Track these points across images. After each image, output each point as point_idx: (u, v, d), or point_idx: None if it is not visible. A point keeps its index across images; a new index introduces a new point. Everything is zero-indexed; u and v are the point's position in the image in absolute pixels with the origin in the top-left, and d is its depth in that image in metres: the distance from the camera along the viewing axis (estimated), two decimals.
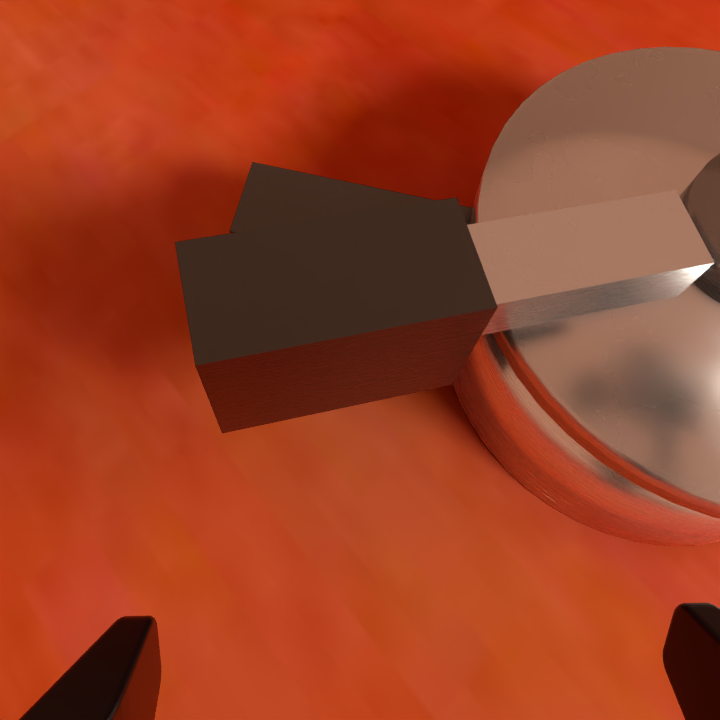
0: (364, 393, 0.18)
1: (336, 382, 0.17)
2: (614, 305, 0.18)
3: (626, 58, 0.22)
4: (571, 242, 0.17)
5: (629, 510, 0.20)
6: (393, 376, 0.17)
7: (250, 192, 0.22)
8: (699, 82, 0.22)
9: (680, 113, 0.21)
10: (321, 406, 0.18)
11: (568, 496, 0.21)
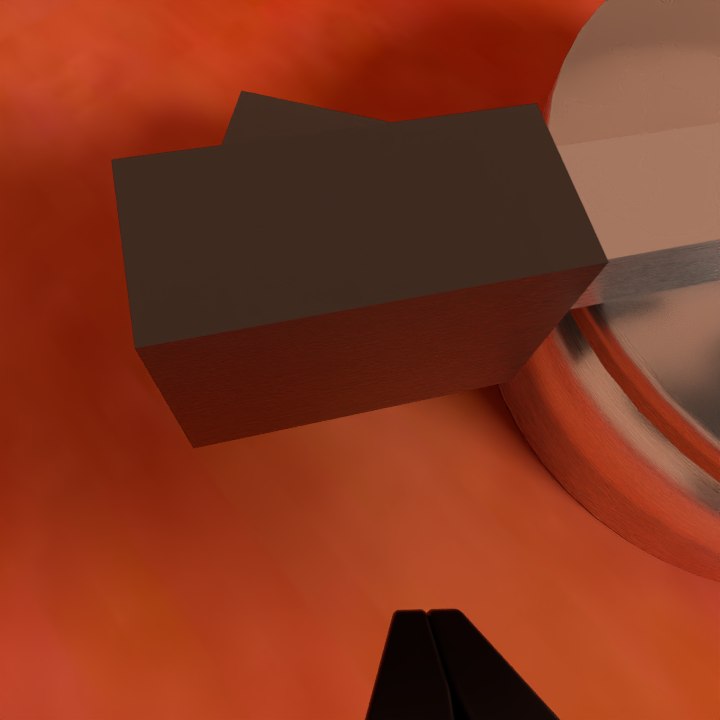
0: (393, 393, 0.13)
1: (356, 377, 0.12)
2: None
3: None
4: (700, 174, 0.11)
5: None
6: (437, 368, 0.12)
7: (238, 128, 0.17)
8: None
9: None
10: (333, 411, 0.13)
11: (657, 530, 0.16)
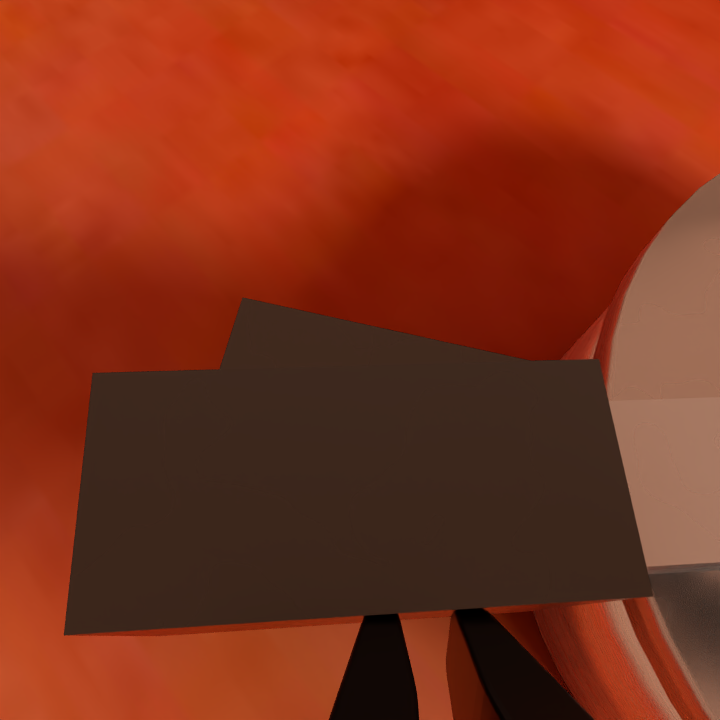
0: None
1: (339, 622, 0.10)
2: None
3: None
4: None
5: None
6: (437, 615, 0.11)
7: (238, 348, 0.15)
8: None
9: None
10: None
11: None
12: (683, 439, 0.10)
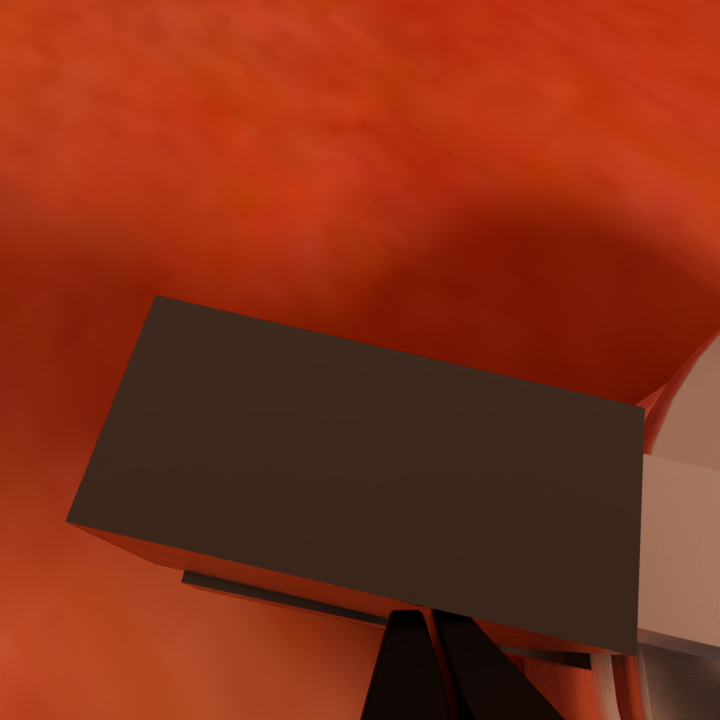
0: (369, 612, 0.11)
1: (323, 596, 0.10)
2: None
3: None
4: None
5: None
6: None
7: None
8: None
9: None
10: (302, 597, 0.12)
11: None
12: (714, 513, 0.09)
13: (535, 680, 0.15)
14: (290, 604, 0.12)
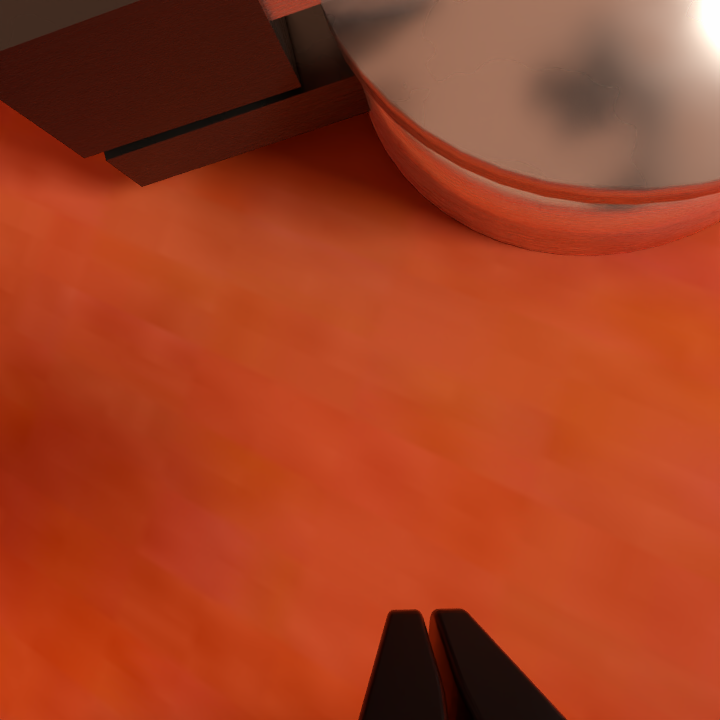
0: (197, 101, 0.18)
1: (145, 87, 0.17)
2: None
3: None
4: None
5: (630, 224, 0.18)
6: (209, 76, 0.17)
7: None
8: None
9: None
10: (164, 121, 0.19)
11: (567, 239, 0.19)
12: None
13: (380, 137, 0.22)
14: (170, 137, 0.19)
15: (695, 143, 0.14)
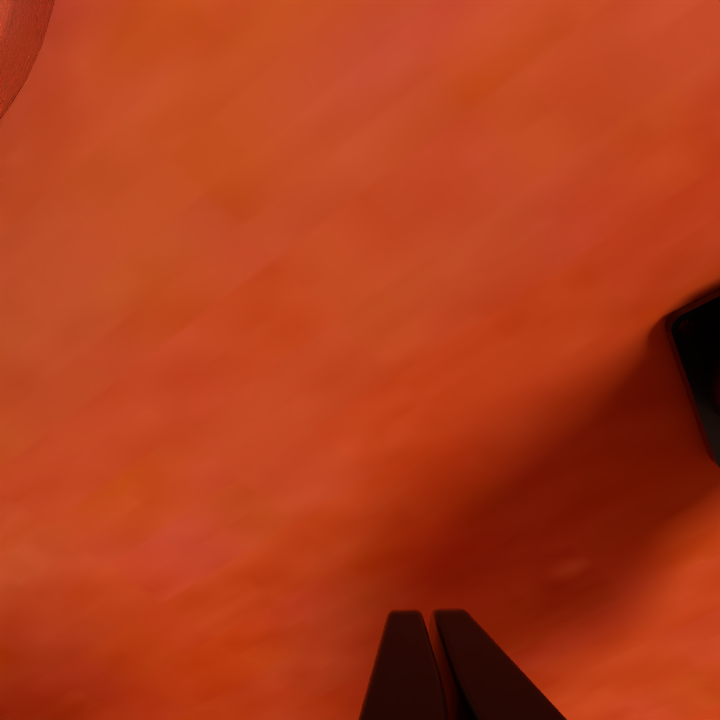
0: None
1: None
2: None
3: None
4: None
5: None
6: None
7: None
8: None
9: None
10: None
11: None
12: None
13: None
14: None
15: None
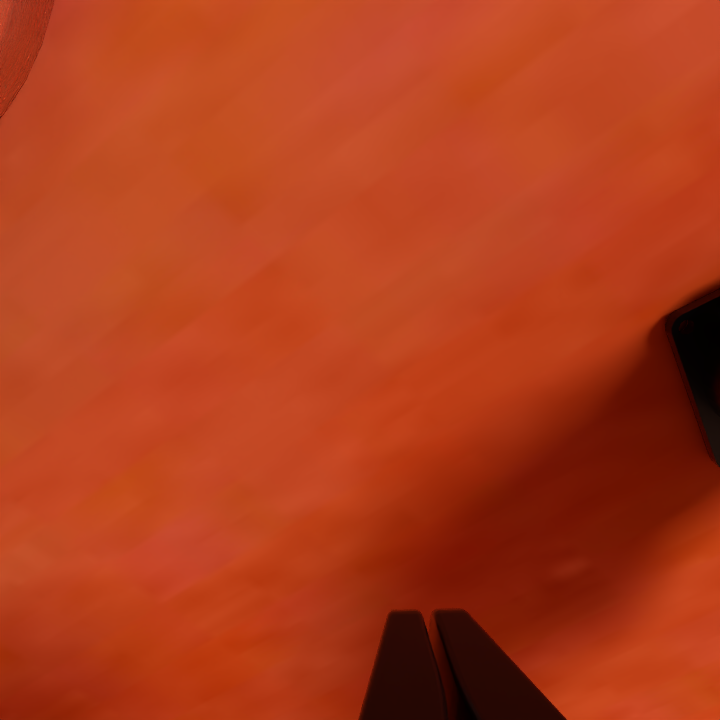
0: None
1: None
2: None
3: None
4: None
5: None
6: None
7: None
8: None
9: None
10: None
11: None
12: None
13: None
14: None
15: None
